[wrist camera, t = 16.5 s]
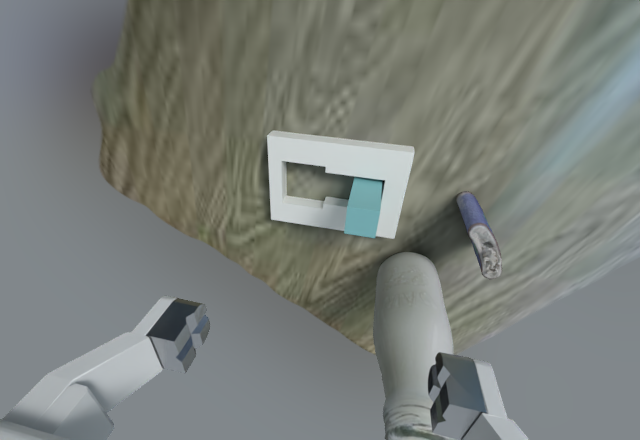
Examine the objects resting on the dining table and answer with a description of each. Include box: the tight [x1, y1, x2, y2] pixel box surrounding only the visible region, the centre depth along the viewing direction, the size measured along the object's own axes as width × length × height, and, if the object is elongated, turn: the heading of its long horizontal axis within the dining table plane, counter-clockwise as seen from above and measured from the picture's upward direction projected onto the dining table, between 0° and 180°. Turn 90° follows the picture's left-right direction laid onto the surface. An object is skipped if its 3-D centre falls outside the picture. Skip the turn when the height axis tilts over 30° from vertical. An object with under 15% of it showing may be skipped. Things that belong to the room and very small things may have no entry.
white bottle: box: [373, 252, 456, 440], centre depth 40 cm, size 10×10×28 cm
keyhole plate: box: [267, 131, 414, 239], centre depth 45 cm, size 20×14×2 cm
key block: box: [344, 176, 382, 238], centre depth 41 cm, size 4×4×10 cm
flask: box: [456, 191, 502, 279], centre depth 40 cm, size 9×3×11 cm, turn 29°
